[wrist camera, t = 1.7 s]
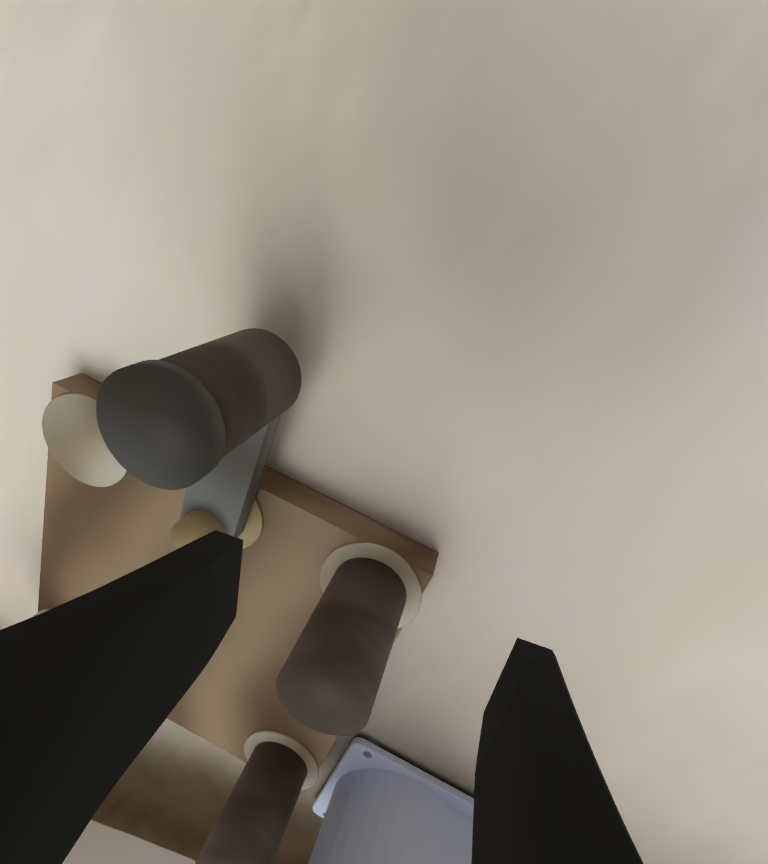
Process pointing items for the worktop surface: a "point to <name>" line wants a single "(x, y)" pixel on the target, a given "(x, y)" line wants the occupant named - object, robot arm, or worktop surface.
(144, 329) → the worktop surface
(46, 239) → the worktop surface
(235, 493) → the crank handle
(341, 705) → the peg board with pegs
